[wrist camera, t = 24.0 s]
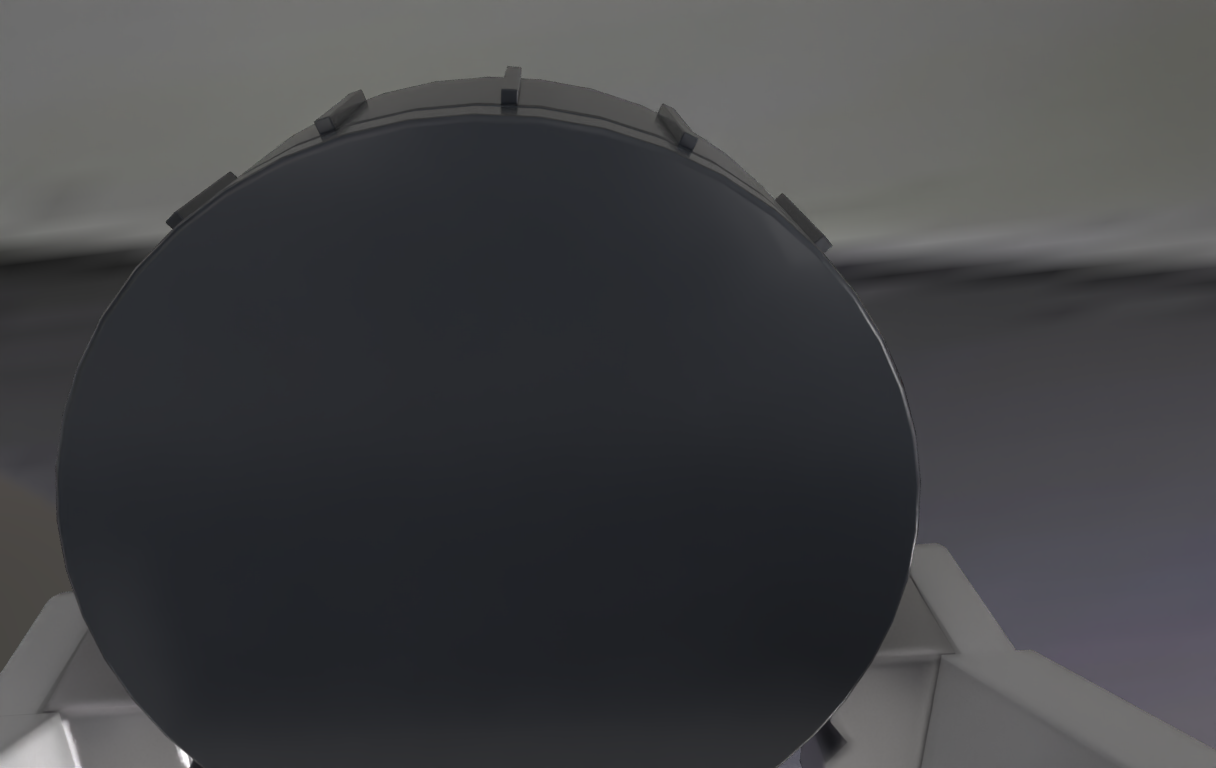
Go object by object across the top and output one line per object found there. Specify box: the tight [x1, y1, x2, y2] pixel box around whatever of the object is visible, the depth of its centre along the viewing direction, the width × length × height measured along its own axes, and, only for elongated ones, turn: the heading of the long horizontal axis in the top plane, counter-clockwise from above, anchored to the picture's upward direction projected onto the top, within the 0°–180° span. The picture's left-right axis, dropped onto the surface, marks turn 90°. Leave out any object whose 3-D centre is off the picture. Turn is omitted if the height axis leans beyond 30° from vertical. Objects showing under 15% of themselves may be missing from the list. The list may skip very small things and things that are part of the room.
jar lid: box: [55, 66, 921, 768], centre depth 8 cm, size 6×6×2 cm
